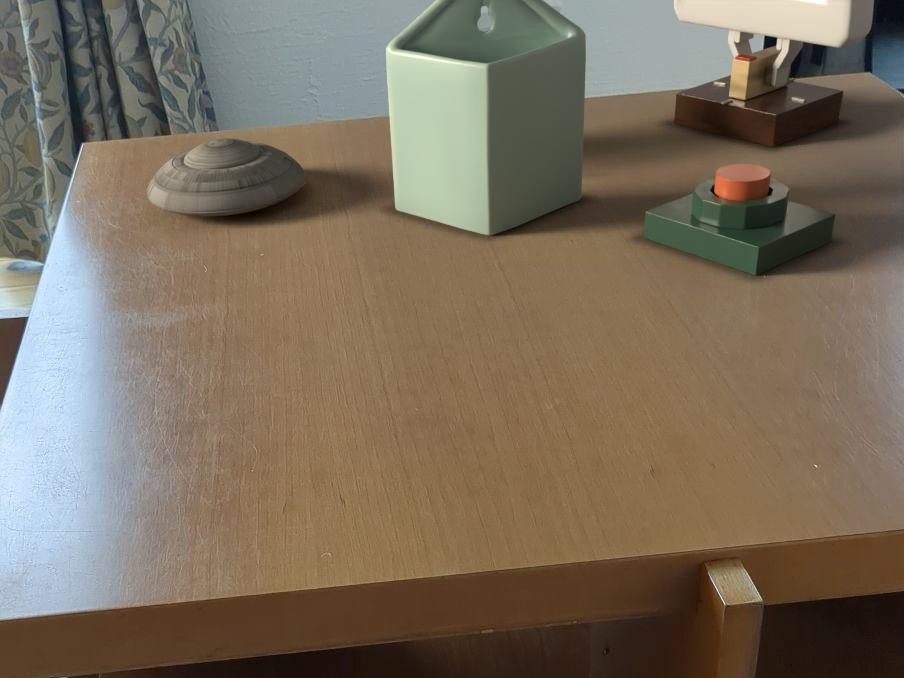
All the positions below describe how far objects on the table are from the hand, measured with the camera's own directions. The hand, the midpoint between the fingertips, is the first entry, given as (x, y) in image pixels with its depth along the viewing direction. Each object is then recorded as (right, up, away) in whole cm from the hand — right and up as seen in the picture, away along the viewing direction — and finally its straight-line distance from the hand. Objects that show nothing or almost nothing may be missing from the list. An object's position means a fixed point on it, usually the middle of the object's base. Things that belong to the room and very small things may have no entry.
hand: (759, 82), depth 112 cm
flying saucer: (-51, -13, -4) cm, 53 cm away
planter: (-28, -17, -13) cm, 35 cm away
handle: (0, -1, 0) cm, 1 cm away
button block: (-9, -21, -21) cm, 31 cm away
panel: (0, -3, +2) cm, 4 cm away
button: (-9, -18, -23) cm, 31 cm away
